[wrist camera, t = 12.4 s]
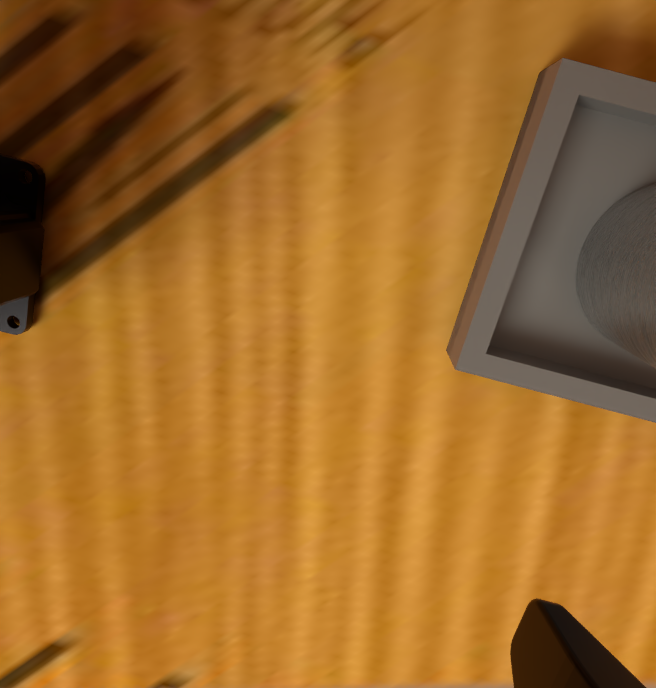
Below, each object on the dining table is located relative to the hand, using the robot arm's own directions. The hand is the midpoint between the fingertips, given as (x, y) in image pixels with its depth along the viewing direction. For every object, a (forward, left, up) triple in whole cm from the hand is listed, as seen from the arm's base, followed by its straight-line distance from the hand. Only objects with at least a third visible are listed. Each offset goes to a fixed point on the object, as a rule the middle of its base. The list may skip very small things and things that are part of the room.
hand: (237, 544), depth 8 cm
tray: (+11, +5, -13) cm, 18 cm away
